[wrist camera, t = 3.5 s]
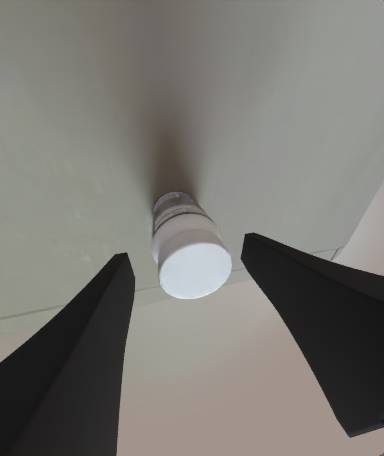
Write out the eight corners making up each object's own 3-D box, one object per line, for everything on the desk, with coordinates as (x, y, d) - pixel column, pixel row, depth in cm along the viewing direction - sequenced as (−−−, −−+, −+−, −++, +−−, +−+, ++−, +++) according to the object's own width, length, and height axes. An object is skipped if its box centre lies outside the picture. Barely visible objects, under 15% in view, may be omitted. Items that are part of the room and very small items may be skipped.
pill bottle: (193, 234, 16) (225, 301, 9) (151, 232, 15) (148, 308, 8) (202, 193, 14) (252, 238, 7) (154, 187, 13) (154, 233, 6)
